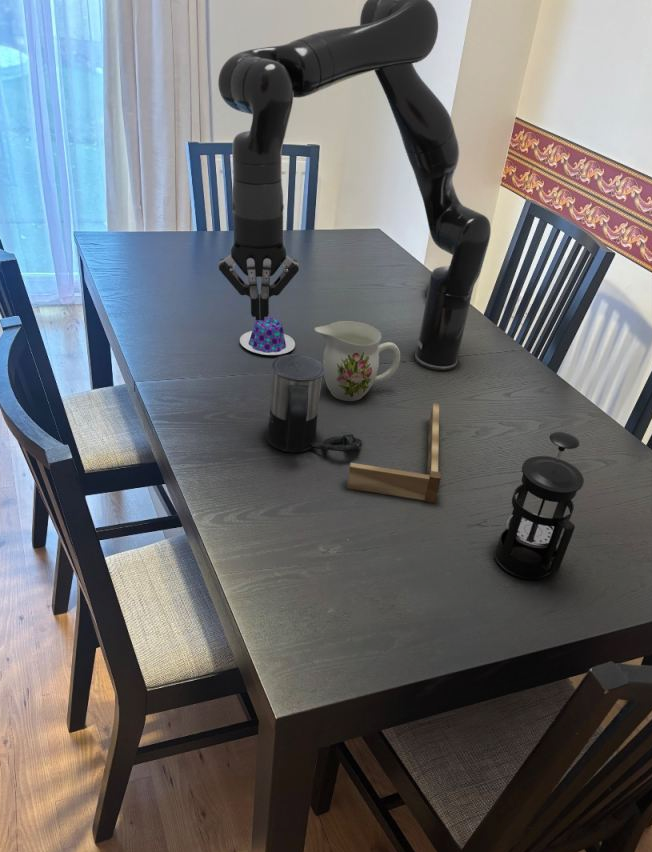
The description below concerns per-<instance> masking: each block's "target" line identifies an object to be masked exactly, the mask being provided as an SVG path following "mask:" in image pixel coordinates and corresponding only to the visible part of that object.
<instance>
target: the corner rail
mask: <svg viewBox="0 0 652 852" xmlns="http://www.w3.org/2000/svg"><path fill="white" fill-rule="evenodd" d="M427 440H428V441H427V465H426V473H418V472H413V471H407V470H399V469H393V468H387V467H381V466H374V465H369V464H362V463H357V462H356V463H355V462H350V464H349V471H348V477H347V478H348V479H347V484H346V489H350V490H356V491H363V492H368V493H375V494H382V495H388V496H394V497H400V498H401V497H402V498H407V499H414V500H419V501H424V502H427V503H432V504H435V503H436V501H437V495H438V490H439V487H440V483H441V475H442V473H441V471H439V448H440V447H439V441H440V404H439V403H432V406H431V412H430V416H429V421H428V437H427Z"/></svg>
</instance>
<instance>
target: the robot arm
mask: <svg viewBox="0 0 652 852" xmlns="http://www.w3.org/2000/svg"><path fill="white" fill-rule="evenodd" d="M438 34H439V17H438V13H437V11H436V8H435V7H434V5H433V4H432V2H430V1H429V0H366V1H365V3H364V4H363V7H362V9H361V12H360V18H359V25H354V26H347V27H339V28H334V29H327V30H324V31H317V32H315V33H312V34H309V35H307V36H303V37H301V38H298V39H295V40H292V41H290V42H288V43H285V44H282V45H281V44H280V45H276V46H275V45H274V46H267V47H266V46H265V47H259V48H253V49H247V50H243V51H240V52H238V53H236V54H233V55H232V56H230V57H229V58H228V59H227V60H226V61H225V62H224V64H223V65H222V67H221V69H220V70H219V74H218V79H217V86H218V92H219V94H220V97H221V98H222V100H223V101H224V103H225V104H227V105H228V106H229V107H230V108H232V109H234V110H235V111H238V112H241V113H245V114H249V115H251V116H252V120H251V125H250V129H249V130H245V131H242V132H239V133H238V134H237V135H235V137H234V138H233V140H232V148H231V149H232V151H231V152H232V153H231V155H232V177H233V178H232V190H231V192H232V193H231V200H232V202H231V209H232V227H233V228H232V229H233V230H232V231H233V232H232V233H233V245H232V247H231V249H230V254H229V255H228V256H226V257H225V258H221V259H219V262H218V270H219V271H220V272H221V274H222V275H223V277H224V278H225V279H226V280H227V281H228V282H229V283H230V284H231V285H232V287H233V288H234V289H235V290H236V291H237V293H238V294H239V295H240V296H248V297H249V299H250V315H251V317H252V318H255V321H257V320H264V318H269V315H270V309H269V308H270V306H269V305H270V303H269V302H270V301H269V300H270V298H271V297H274V296H276V297H277V296H279V295H280V294H281V293H282V291H284V289H285V288H286V286H287V285H288V284H289V283H290V282H291V281H292V279H293V278H294V277H295V276H296V274H298V272H299V271H300V267H299V262H298V260H296V259H292V258H291V257H290V256H288V255H287V250H286V248H285V246H284V210H285V207H284V206H285V205H284V190H283V180H282V160H283V159H282V149H283V145H284V141H285V138H286V134H287V130H288V125H289V121H290V118H291V113H292V110H293V105H294V98H304V97H308V96H311V95H314V94H315V93H318V92H320V91H322V90H325V89H327V88H330V87H332V86H334V85H336V84H339V83H341V82H344V81H346V80H349V79H351V78H354V77H357V76H360V75H363V74H367V73H369V72H373V71H374V73H375V76H376V77H377V79H378V82H379V84H380V86H381V88H382V90H383V92H384V94H385V97H386V99H387V103H388V105H389V107H390V110H391V112H392V115H393V118H394V121H395V123H396V126H397V128H398V131H399V134H400V137H401V141H402V144H403V147H404V150H405V153H406V157H407V159H408V161H409V163H410V166H411V168H412V171H413V175H414V177H415V180H416V184H417V186H418V190H419V192H420V195H421V198H422V202H423V206H424V210H425V215H426V219H427V225H428V229H429V233H430V237H431V239H432V241H433V242H434V244H435V245H436V246H437V247H438V248H439V249H441V250H443V251H444V252H446V253H448V254H450V255H452V256H451V260H450V263H449V265H444V266H439V267H435V268H433V270H432V271H431V273H430V278H429V283H428V286H426V289H425V296H426V299H425V305H424V310H423V315H422V320H421V326H420V330H419V336H418V338H417V343H416V344H417V346H416V351H415V353H414V360H415V361H416V363H417V364H419V365H420V366H421V367H424V368H426V369H429V370H433V371H449V370H452V369H455V368H456V367H457V364H458V358H459V353H460V349H461V345H462V340H463V336H464V331H465V326H466V322H467V318H468V314H469V310H470V309H469V308H470V305H471V300H472V295H473V291H474V286H475V284H476V283H477V281H478V279H479V277H480V275H481V272H482V268H483V266H484V265H483V264H484V262H485V258H486V254H487V251H488V247H489V244H490V239H491V232H492V228H491V222H490V220H489V218H488V217H487V216H486V215H484V214H482V213H480V212H479V211H476V210H475V209H472V208H470V207H467V206H465V205H464V204H462V203H461V201H460V199H459V197H458V195H457V192H456V189H455V186H454V182H453V178H454V175H455V172H456V170H457V166H458V164H459V159H460V146H459V142H458V138H457V134H456V131H455V126H454V123H453V120H452V116H451V115H450V113H449V112H448V110H447V108H446V107H445V105H444V104H443V102H441V100H440V99H439V97H437V95H436V94H435V93H434V92H433V90H431V88H430V87H429V86H428V85H427V84H426V83H425V82H424V81H423V79H422V77H421V76H420V75H419V73H418V72H417V70H416V69H415V66H414V64H417V63H420V62H422V61H423V60H425V59H426V58H427V57H428V56H429V55H430V54H431V53H432V51H433V49H434V48H435V45H436V43H437V39H438ZM282 264H283V265H282ZM236 265H237V267H238V268H239V270H241V272H242V273H243V274H244V275H245V276H247V278H248V284H247V283H246V282H245V280H244V279H243V278H242V277H241V276H240V275H239V273H237V271H236ZM281 265H282V271H281V273H280V274H279V275H278V277H277V278H276V279H275V280H274V282H273V283H272V284H271V283H270V282H271V277H272V276H274V275H275V274H276V272H277V271H278V269H279V268H280V267H281ZM259 277H260V280H261V282H260V293H259V288H258V278H259Z"/></svg>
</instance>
